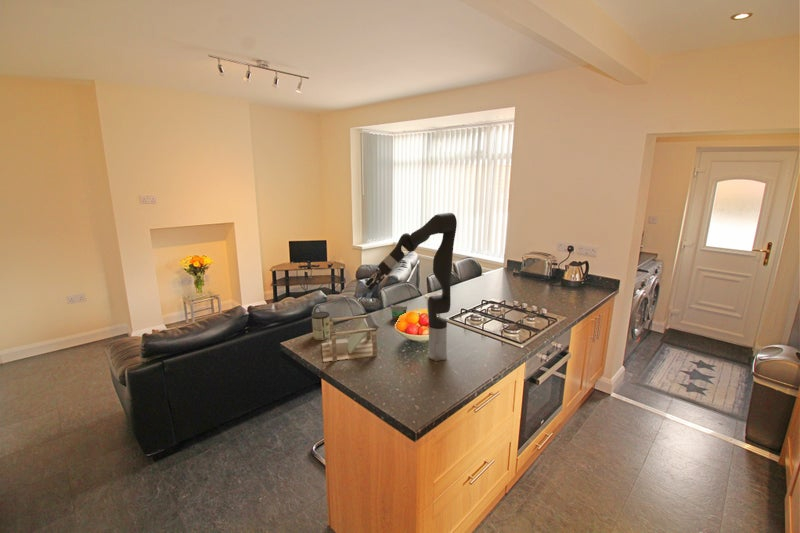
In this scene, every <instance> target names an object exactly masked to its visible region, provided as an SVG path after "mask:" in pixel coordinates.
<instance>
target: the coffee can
mask: <svg viewBox="0 0 800 533" xmlns="http://www.w3.org/2000/svg"><path fill="white" fill-rule="evenodd" d="M329 319H330V312H328V311H316V312H313V313H312V314H311V321H312V334H313V339H314V340H317V341H319V340H320V341H321V340H322V341H323V340H327V339H330V325H329Z"/></svg>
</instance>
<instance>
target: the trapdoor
mask: <svg viewBox="0 0 800 533" xmlns="http://www.w3.org/2000/svg"><path fill="white" fill-rule="evenodd" d="M368 315H369V316H368V317H367V319H366V318H362V321H361V322H360V323H359V325H358V326H357V327H356V328H355V330H360V329H369V328H376V331H378V329H379V328H380V326H379V324H378V322H377V321H376V318H375V316H373V315H372V314H368ZM368 326H369V327H368ZM367 333H368V332H363V333H354V334H350V336H349V337H348V338H347V341H348V350H349V353H350V354H351V353H352V351H353V350H354V349H355V348H356V346H357V345H358V344H359V343H360V341H361V340H362V339H365V336H367Z"/></svg>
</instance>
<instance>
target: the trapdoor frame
mask: <svg viewBox="0 0 800 533" xmlns="http://www.w3.org/2000/svg"><path fill="white" fill-rule="evenodd" d="M369 315H370V314H365V315H363V314H362V315H354V316H351V315H350V316H344V317H342V316H341V317H333V318H329V325H330V337H329V339H330V340H332V353H330V352H329V342H323V343H322V342H321V351H322V352H321V353H322V354H321V355H322V363H323V362H324V363H329V361H332V362H338V361H337V360H340V361H346V360H345V359H348V360H354V359H355V358H356V359H362V358H363V359H364V358H370V357H377V356H378V345H377V330H376V328H369V329H360V330H356V329H353V330H342V331H334V330H335V329H334V322H338V321H339V322H340V321H349V320H359V319H363V318H365V320H366V319H367V317H368V316H369ZM368 327H369V326H368ZM363 332H368V333H367V334H366V337H364V338H363V339H362V340H361V341H360V343H359V344H358V345H357V346H356V348H355V349H354V350H353V351H352V353H351V354H350V353H349V350H348V351H342V352H337V351H336V340H337V336H341V335H343V336H344V335H352V334H354V333H363ZM330 340H329V341H330Z"/></svg>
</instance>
